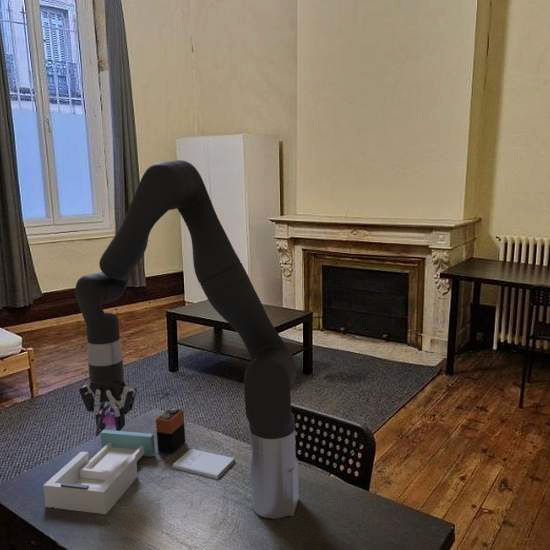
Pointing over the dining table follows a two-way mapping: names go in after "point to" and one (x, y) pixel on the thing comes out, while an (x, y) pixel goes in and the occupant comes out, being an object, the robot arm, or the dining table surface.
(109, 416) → the purple toy kit
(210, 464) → the external hard drive
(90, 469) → the drawer
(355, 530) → the dining table surface
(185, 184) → the robot arm
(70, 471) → the open box
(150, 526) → the dining table surface
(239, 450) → the dining table surface
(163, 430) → the battery
